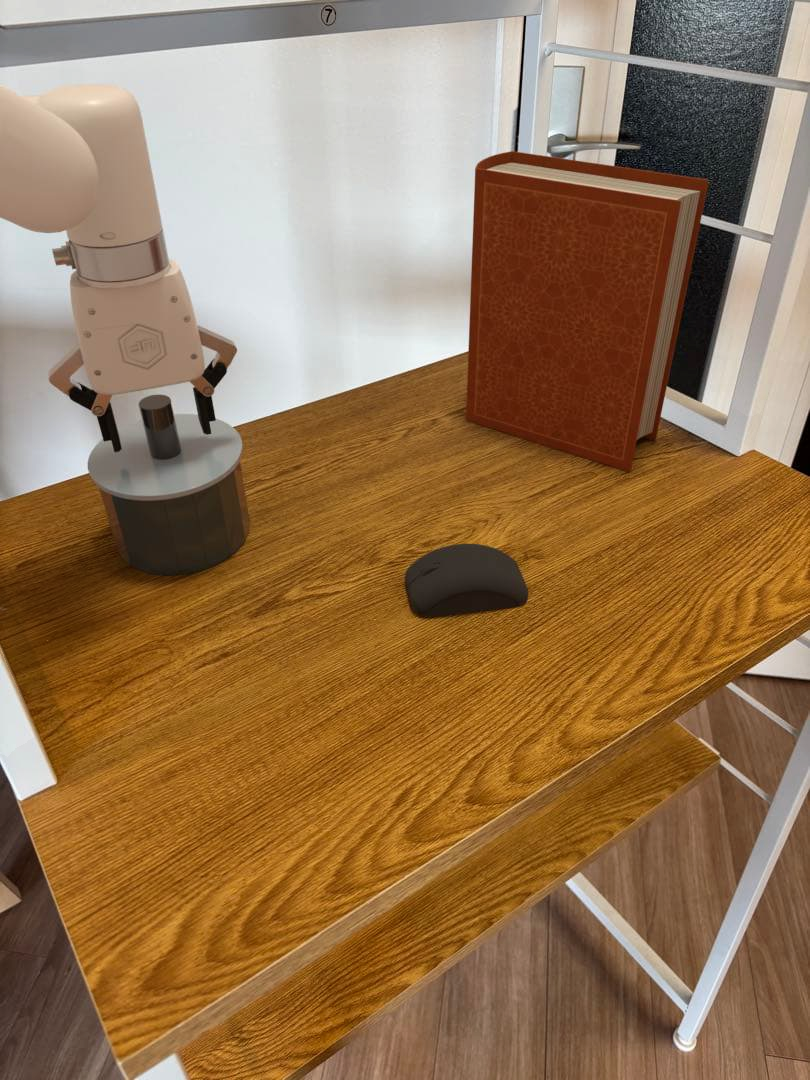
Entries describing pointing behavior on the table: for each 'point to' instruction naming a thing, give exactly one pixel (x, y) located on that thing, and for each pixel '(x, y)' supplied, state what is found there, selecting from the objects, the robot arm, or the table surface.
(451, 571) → the computer mouse
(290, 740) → the table surface
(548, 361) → the book
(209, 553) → the tin
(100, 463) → the lid
